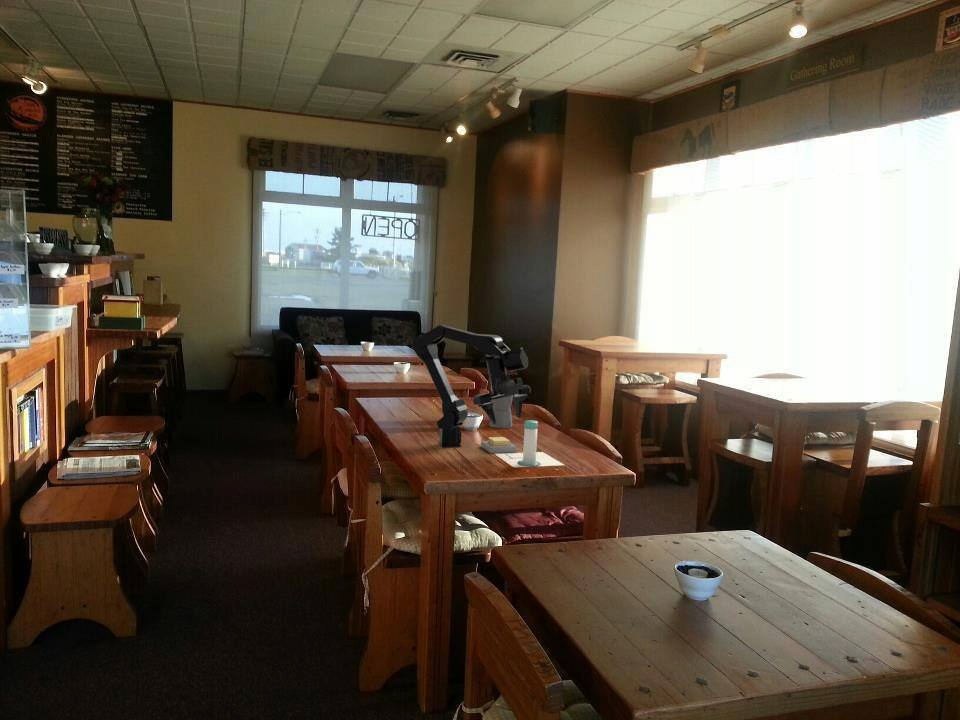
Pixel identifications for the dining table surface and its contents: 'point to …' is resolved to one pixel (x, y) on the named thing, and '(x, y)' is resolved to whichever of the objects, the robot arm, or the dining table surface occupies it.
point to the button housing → (498, 448)
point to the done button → (498, 441)
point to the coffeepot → (502, 412)
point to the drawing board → (517, 461)
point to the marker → (530, 442)
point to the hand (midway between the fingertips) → (507, 420)
